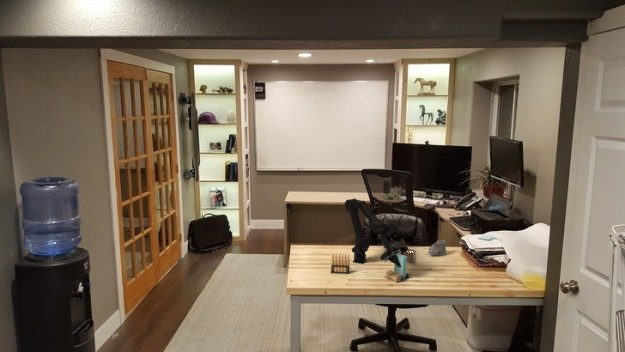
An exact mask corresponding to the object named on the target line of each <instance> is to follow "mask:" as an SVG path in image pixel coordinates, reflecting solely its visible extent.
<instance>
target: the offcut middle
mask: <svg viewBox="0 0 625 352" xmlns="http://www.w3.org/2000/svg"><path fill="white" fill-rule="evenodd" d="M384 275H385V276H388V277H390V278H393V279H395V280H397V279H400V278H401V277H400V278H395V277H393V276H390V275H388V274H386V272H385V273H384Z"/></svg>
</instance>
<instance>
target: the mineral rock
mask: <svg viewBox="0 0 625 352" xmlns="http://www.w3.org/2000/svg"><path fill="white" fill-rule="evenodd" d="M446 244H447V241H446V240H445V239H443V240H441V239H438V240H436V242H434V243H433V244H432V245H430V247H429V248H428V249H427V250H428V254H429V255H430V256H443V255H446V254H447V249H446V247H447V245H446Z"/></svg>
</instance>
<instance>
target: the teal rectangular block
mask: <svg viewBox="0 0 625 352" xmlns="http://www.w3.org/2000/svg"><path fill="white" fill-rule="evenodd" d="M397 259H398V261H399V263H400V265H401V267H398V266H397V265H395V264H394V268H393V271H395V272H397V273H400V274H402V276H404V278H405V277H406V273H407V265H408V264H407V256H404V255H402V254H397Z"/></svg>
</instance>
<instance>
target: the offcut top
mask: <svg viewBox="0 0 625 352" xmlns="http://www.w3.org/2000/svg"><path fill="white" fill-rule="evenodd" d="M385 273H386V274H388V275H390V276H393V277H395V278H400V277H402V274H400V273H397V272H395V271H394V270H392V269H390V270H387V271H385Z"/></svg>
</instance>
